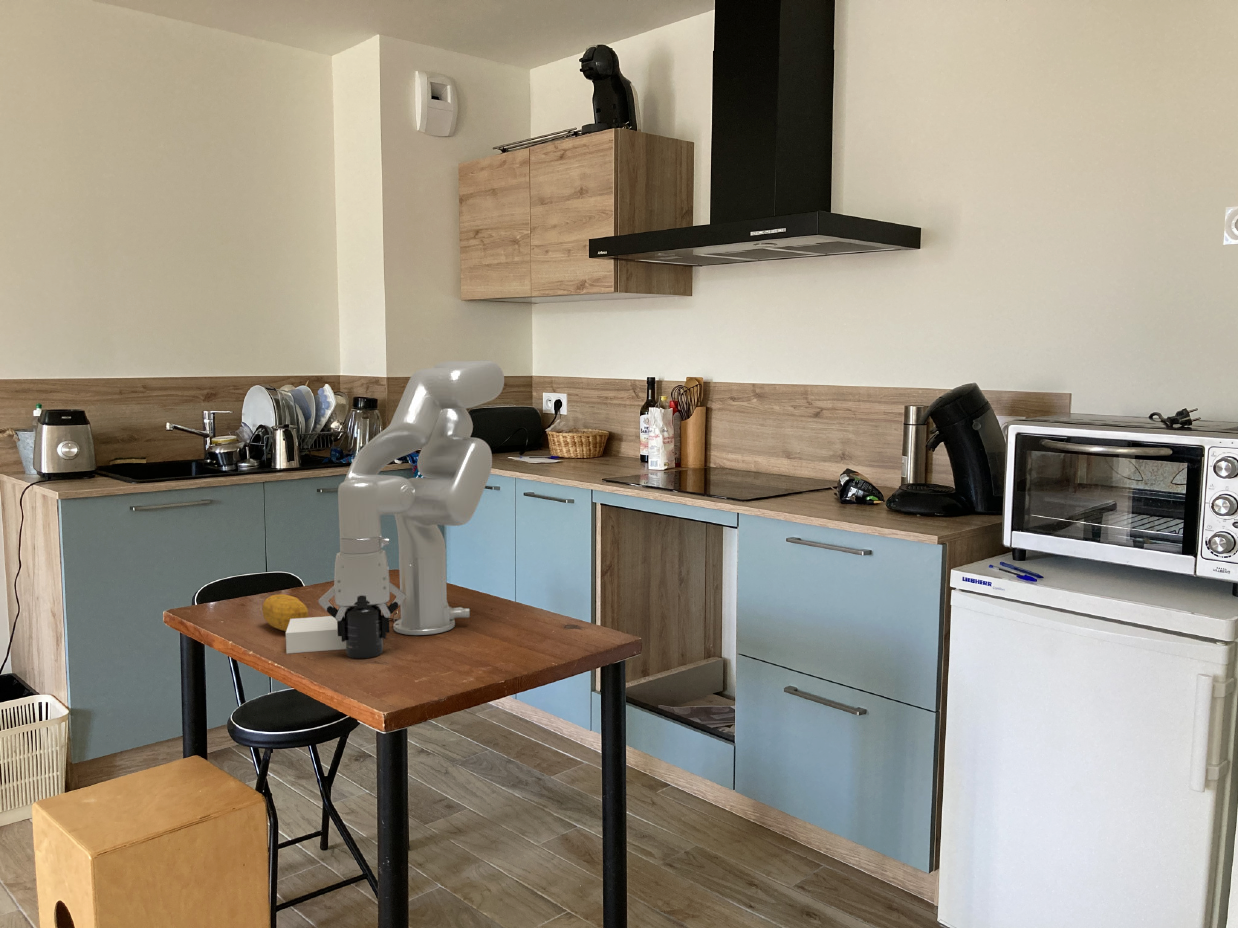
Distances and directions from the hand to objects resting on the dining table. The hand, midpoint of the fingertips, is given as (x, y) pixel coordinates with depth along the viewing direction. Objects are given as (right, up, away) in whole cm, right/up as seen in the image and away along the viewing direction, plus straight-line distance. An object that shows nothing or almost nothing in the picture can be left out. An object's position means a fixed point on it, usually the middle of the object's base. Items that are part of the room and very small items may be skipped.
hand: (364, 637), depth 181 cm
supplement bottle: (0, -3, 0) cm, 3 cm away
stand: (-11, -3, +8) cm, 14 cm away
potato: (-21, -2, +19) cm, 28 cm away
